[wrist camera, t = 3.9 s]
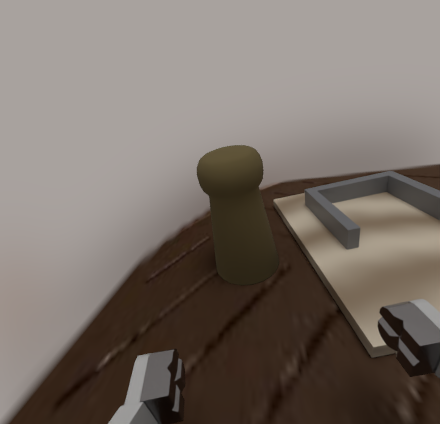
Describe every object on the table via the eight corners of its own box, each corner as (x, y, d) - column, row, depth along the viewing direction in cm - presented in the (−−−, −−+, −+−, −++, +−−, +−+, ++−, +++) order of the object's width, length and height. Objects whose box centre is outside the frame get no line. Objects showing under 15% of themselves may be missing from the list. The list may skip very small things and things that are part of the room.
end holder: (465, 225, 20) (472, 204, 19) (347, 249, 20) (348, 230, 19) (388, 186, 28) (391, 170, 27) (305, 204, 28) (304, 189, 27)
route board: (657, 301, 13) (670, 288, 13) (371, 358, 13) (373, 347, 13) (394, 180, 31) (395, 173, 30) (274, 206, 31) (273, 199, 31)
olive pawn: (208, 282, 21) (173, 167, 16) (225, 242, 26) (202, 144, 21) (276, 287, 19) (260, 156, 14) (281, 243, 24) (270, 134, 19)
